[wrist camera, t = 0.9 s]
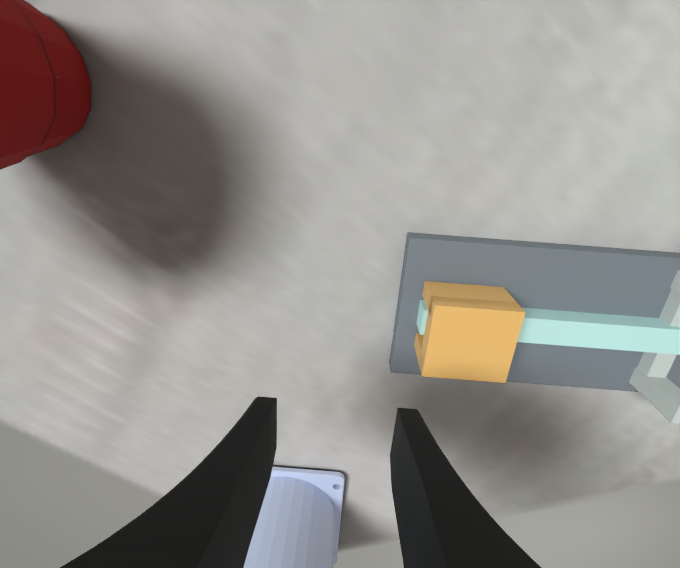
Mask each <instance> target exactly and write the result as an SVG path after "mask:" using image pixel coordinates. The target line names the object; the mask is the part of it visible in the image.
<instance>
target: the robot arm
mask: <svg viewBox="0 0 680 568" xmlns="http://www.w3.org/2000/svg"><path fill="white" fill-rule="evenodd" d="M276 438H277V398H268V397H257V398H256V399H254V401H253V402H252V404H251V405H250V406H249V408H248V409H247V410H246V412H245V413H244V414H243V416H242V417H241V418H240V419H239V421H238V422H237V423H236V424H235V426H234V427H233V428H232V429H231V430H230V431H229V433H228V434H227V435H226V436H225V437H224V438H223V440H222V441H221V442H220V443H219V444H218V445H217V446H216V447H215V448H214V449H213V450H212V452H211V453H210V454H209V455H208V456H207V457H206V458H205V459H204V460H203V461H202V462H201V463H200V464H199V465H198V466H197V467H196V468H195V469H194V470H193V471H192V472H191V473H190V474H189V475H188V476H186V477H185V478H184V479H183V480H182V481H181V482H180V483H179V484H178V485H176V486H175V487H174V488H173V489H172V490H171V491H170V492H168V493H167V494H166V495H165V496H164V497H162V498H161V499H160V500H159V501H158V502H156V503H155V504H154V505H153V506H151V507H150V508H149V509H147V510H146V511H145V512H144V513H142V514H141V515H140V516H138V517H137V518H136V519H134V520H133V521H131V522H130V523H128V524H127V525H126V526H124V527H123V528H121V529H120V530H119V531H117V532H116V533H114V534H113V535H112V536H110V537H109V538H107V539H106V540H104V541H103V542H101V543H100V544H98V545H97V546H95V547H94V548H92V549H90V550H89V551H87V552H85V553H84V554H82V555H80V556H79V557H77V558H75V559H74V560H72V561H71V562H69V563H67V564H65V565H64V566H62V567H60V568H333V564H335V563H336V561H337V551H338V541H339V531H340V521H341V511H342V501H343V491H344V479H345V478H344V475H343V474H342V473H340V472H333V471H321V470H309V469H296V468H284V467H273V462H274V457H275V451H276ZM390 463H391V483H392V493H393V499H394V506H395V512H396V519H397V525H398V531H399V538H400V544H401V550H402V556H403V562H404V568H541V567H540V566H539V565H538V564H536V562H534V561H533V560H532V559H531V558H530V557H529V556H528V555H527V554H526V553H525V552H524V551H523V550H522V549H521V548H520V547H519V546H518V545H517V544H516V543H515V542H514V541H513V540H512V539H511V538H510V537H509V536H508V535H507V534H506V533H505V531H504V530H503V529H502V528H501V527H500V526H499V525H498V524H497V523H496V522H495V520H494V519H493V518H492V517H491V516H490V515H489V514H488V512H487V511H486V510H485V509H484V508H483V507H482V505H481V504H480V503H479V502H478V500H477V499H476V498H475V497H474V495H473V494H472V493H471V492H470V490H469V489H468V488H467V486H466V485H465V484H464V482H463V481H462V480H461V478H460V477H459V476H458V474H457V473H456V471H455V470H454V468H453V467H452V466H451V464H450V463H449V461H448V460H447V458H446V457H445V455H444V454H443V452H442V451H441V449H440V447H439V446H438V444H437V443H436V441H435V439H434V438H433V436H432V434H431V433H430V431H429V429H428V427H427V426H426V424H425V422H424V420H423V418H422V417H421V415H420V413H419V411H418V410H417V409H406V408H398V409H397V415H396V422H395V428H394V434H393V441H392V447H391V453H390ZM336 484H338V485H336Z"/></svg>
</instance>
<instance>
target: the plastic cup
mask: <svg viewBox="0 0 680 568" xmlns="http://www.w3.org/2000/svg"><path fill="white" fill-rule="evenodd" d="M90 109H91V81H90V78H89V75H88V72H87V69H86V66H85V63H84V60H83V57H82V55H81V54H80V52H79V51H78V49H77V48H76V47H75V45H74V44H73V42H72V41H71V40H70V38H69V37H68V35H67V34H66V33H65V31H64V30H63V29H61V28H60V27H59V26H57V24H56V23H55V22H53V21H52V20H51V19H49V18H48V17H47V16H45V15H44V14H43V13H41V12H40V11H39V10H37V9H36V8H35V7H33V6H32V5H31V4H29V3H28V2H26V1H24V0H0V169H3V168H6V167H8V166H11V165H14V164H16V163H19V162H21V161H22V160H24V159H25V158H26V157H28V156H30V155H33V154H36V153H39V152H42V151H45V150H48V149H50V148H53V147H56V146H59V145H60V144H61V143H63V142H64V141H66V140H67V139H68V138H70V137H71V136H72V135H74V134H75V133H76V132H78V131H79V130H80V129H82V127H83V125H84V122H85V120H86V118H87V116H88V114H89V112H90Z"/></svg>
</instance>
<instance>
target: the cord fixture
mask: <svg viewBox="0 0 680 568" xmlns="http://www.w3.org/2000/svg"><path fill="white" fill-rule="evenodd" d="M425 281H431V282H444V283H457V284H470V285H483V286H496V287H504V288H505V289H506V290H507V292H508V293H509V294H510V295H511V296H512V297H513V298H514V300H515V301H516V302H517V303H518V304H519V305H520V306H521V308H522V309H523V310H524V311H525V312H526V313H525V316H524V320H523V323H522V327H521V330H520V334H519V337H518V341H517V344H516V348H515V351H514V355H513V358H512V362H511V365H510V369H509V372H508V376H507V379H506V381H508V382H520V383H533V384H546V385H558V386H571V387H584V388H597V389H609V390H622V391H635V392H640V393H641V394H642V395H643V396H644V397H645V398H646V399H647V400H648V401H649V402H650V403H651V404H652V405H653V406H654V407H655V408H656V409H657V410H658V411H659V412H660V413H661V414H662V415H663V416H664V417H665V418H666V419H667V420H668V421H669V422H671V423H679V424H680V253H672V252H659V251H646V250H633V249H619V248H606V247H593V246H580V245H566V244H553V243H540V242H527V241H513V240H500V239H487V238H474V237H460V236H447V235H434V234H421V233H407V239H406V246H405V254H404V261H403V268H402V275H401V282H400V289H399V297H398V304H397V311H396V318H395V325H394V333H393V340H392V347H391V354H390V361H389V363H390V371H391V372H394V373H406V374H419V375H421V371H420V367H419V363H418V359H417V355H416V351H415V347H414V342H415V336H416V332H418V333H419V334H420V335H424V332H425V326H426V321H427V315H428V309H427V307H426V304H425V301H424V299H423V296H422V294H423V288H424V282H425Z"/></svg>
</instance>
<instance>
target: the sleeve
mask: <svg viewBox="0 0 680 568" xmlns="http://www.w3.org/2000/svg"><path fill="white" fill-rule="evenodd" d="M422 296H423V299H424V301H425V304H426V307H427V309H428V315H427V321H426V326H425V332H424V335H420V334H419V333H418V332H416V336H415V342H414V347H415V351H416V355H417V359H418V363H419V367H420V371H421V375H422V376H424V377H436V378H449V379H462V380H474V381H487V382H500V383H506V379H507V376H508V372H509V369H510V365H511V362H512V358H513V355H514V351H515V348H516V344H517V341H518V337H519V334H520V330H521V327H522V323H523V320H524V316H525V313H526V312H525V311H524V310H523V309H522V308H521V306H520V305H519V304H518V303H517V302H516V301H515V300H514V298H513V297H512V296H511V295H510V294H509V293H508V292H507V290H506V289H505V288H504V287H496V286H483V285H470V284H457V283H444V282H431V281H425V282H424V288H423V294H422Z"/></svg>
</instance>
